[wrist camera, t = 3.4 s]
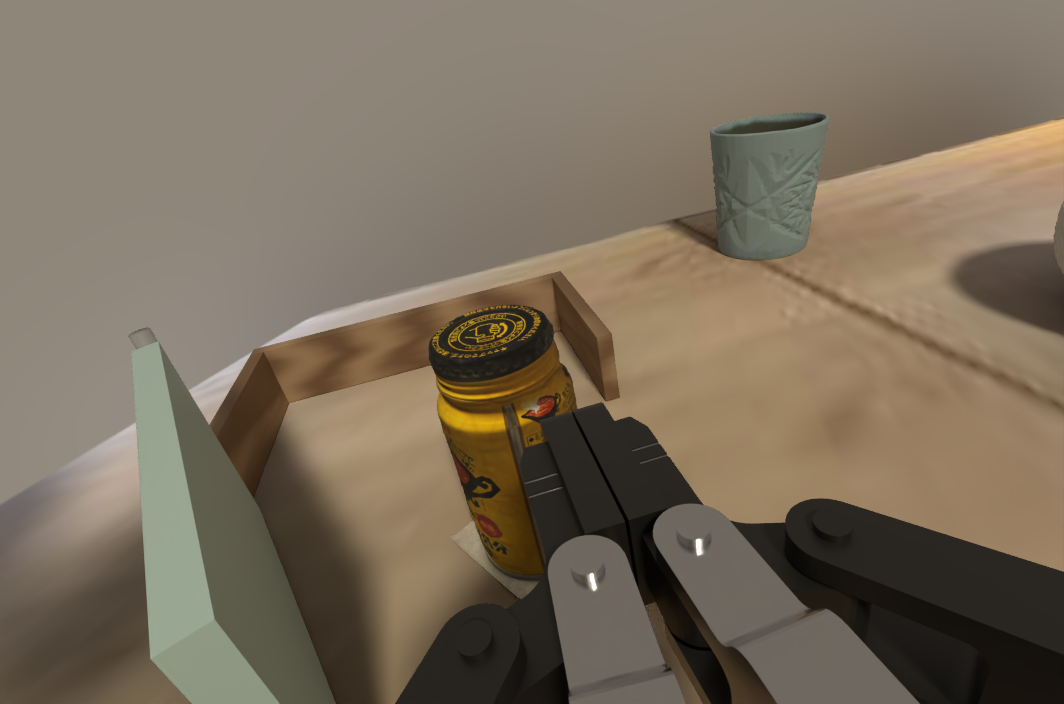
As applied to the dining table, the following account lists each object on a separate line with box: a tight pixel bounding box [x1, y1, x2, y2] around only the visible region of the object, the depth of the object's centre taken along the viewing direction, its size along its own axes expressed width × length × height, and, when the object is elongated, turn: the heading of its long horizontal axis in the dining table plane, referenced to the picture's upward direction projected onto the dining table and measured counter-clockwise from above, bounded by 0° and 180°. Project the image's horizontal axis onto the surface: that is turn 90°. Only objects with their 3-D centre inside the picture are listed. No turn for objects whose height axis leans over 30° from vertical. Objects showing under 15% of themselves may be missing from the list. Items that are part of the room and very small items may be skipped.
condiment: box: [428, 305, 577, 599], centre depth 25 cm, size 7×8×12 cm
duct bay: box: [209, 271, 620, 497], centre depth 39 cm, size 26×13×5 cm, turn 102°
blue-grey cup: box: [710, 113, 830, 260], centre depth 52 cm, size 10×10×12 cm
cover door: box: [128, 328, 336, 704], centre depth 22 cm, size 22×1×13 cm, turn 37°
